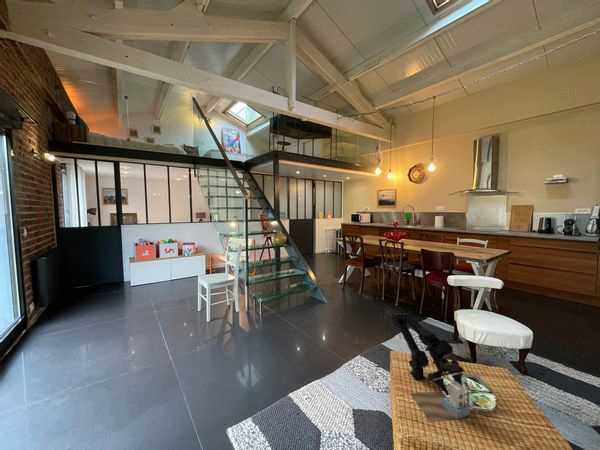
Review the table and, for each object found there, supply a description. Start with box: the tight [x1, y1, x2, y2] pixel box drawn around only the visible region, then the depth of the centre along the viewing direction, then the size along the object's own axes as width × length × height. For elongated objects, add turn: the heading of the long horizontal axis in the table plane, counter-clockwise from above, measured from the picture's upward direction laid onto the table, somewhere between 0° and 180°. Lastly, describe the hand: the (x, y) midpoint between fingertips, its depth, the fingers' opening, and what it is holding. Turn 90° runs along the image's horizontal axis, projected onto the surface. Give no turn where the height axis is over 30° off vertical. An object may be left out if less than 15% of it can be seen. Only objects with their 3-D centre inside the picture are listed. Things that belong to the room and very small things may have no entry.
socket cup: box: [443, 397, 471, 419], centre depth 117 cm, size 8×8×4 cm
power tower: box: [448, 381, 466, 410], centre depth 117 cm, size 5×4×12 cm
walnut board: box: [409, 390, 474, 423], centre depth 120 cm, size 17×22×1 cm
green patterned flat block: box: [462, 372, 491, 391], centre depth 135 cm, size 13×10×2 cm
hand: (455, 393), depth 117 cm, fingers open, 9 cm apart
